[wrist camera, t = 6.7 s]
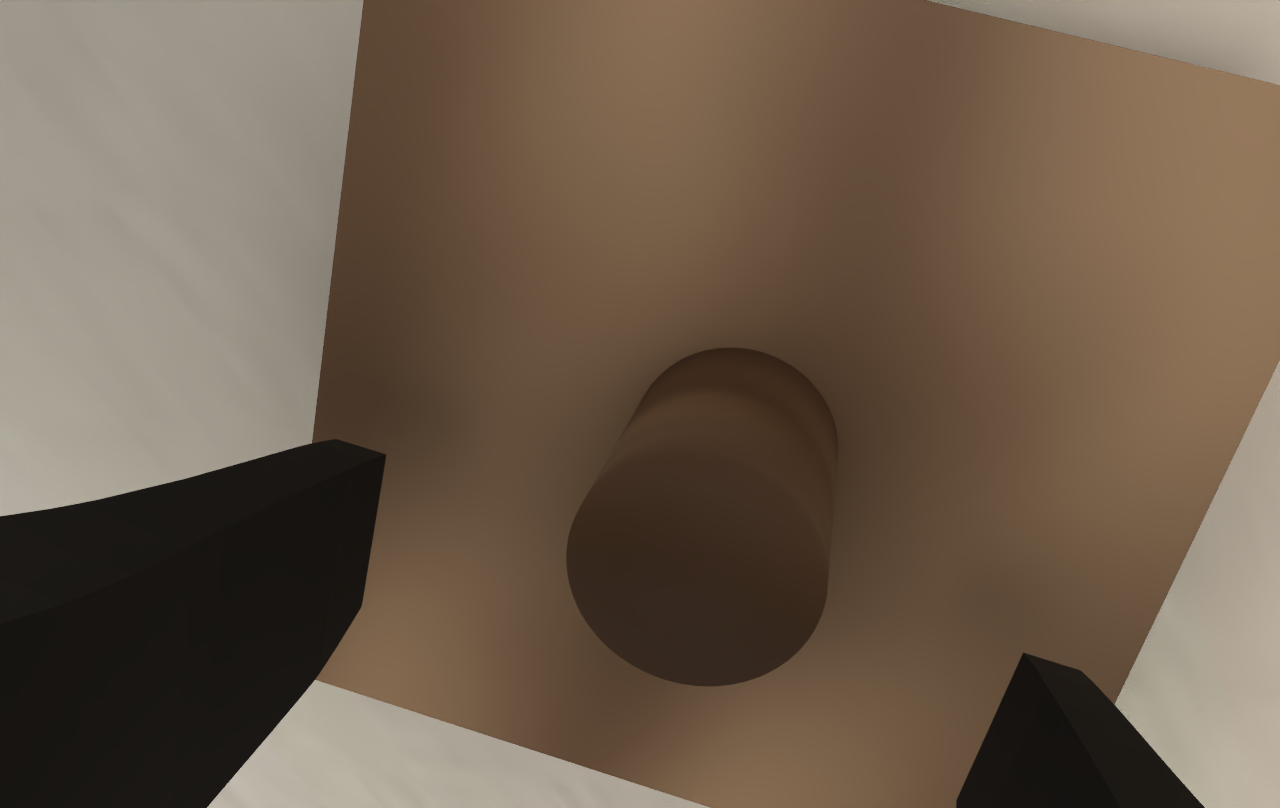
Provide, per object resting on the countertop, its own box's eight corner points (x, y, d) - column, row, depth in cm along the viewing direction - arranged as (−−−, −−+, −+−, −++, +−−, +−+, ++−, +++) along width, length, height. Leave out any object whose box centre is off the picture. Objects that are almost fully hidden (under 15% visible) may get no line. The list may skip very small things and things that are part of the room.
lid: (311, 640, 19) (150, 823, 14) (408, -123, 14) (212, -176, 10) (1010, 863, 17) (1053, 1134, 13) (1362, 106, 13) (1600, 155, 9)
